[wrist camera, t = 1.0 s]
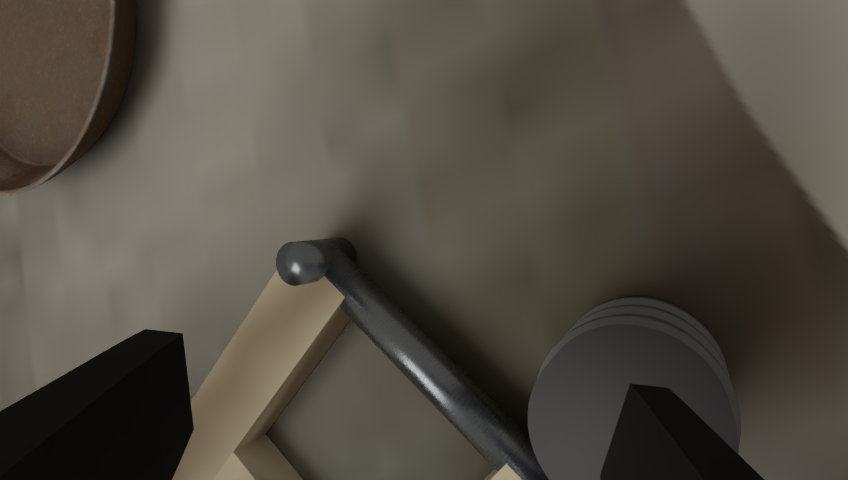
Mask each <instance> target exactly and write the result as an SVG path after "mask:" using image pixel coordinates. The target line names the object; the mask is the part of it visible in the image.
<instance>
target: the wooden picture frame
mask: <svg viewBox="0 0 848 480" xmlns="http://www.w3.org/2000/svg"><path fill="white" fill-rule="evenodd" d="M344 298H345V297H344V296H343V295H342V294H341V293H340V292H339V291H338V289H337V288H336V287H335V286H334V285H333V284H332V283H331V282H330V281H329V280H328V279H327V278H326V277H325V276H323V277H322V278H321V279H320V280H319V281H317V282H313V283H308V284H303V285H298V286H292V285H289V284H287V283H285V282H284V281H283V280H282V279H281V277H280V276H279V274H278V271H276V272H275V274H274V275H273V277H272V278H271V280H270V281H269V283H268V284H267V286H266V287H265V289H264V291H263V292H262V294H261V295H260V297H259V298H258V300H257V301H256V303H255V304H254V306H253V307H252V309H251V310H250V312H249V313H248V315H247V316H246V318H245V320H244V321H243V323H242V324H241V326H240V327H239V329H238V330H237V332H236V333H235V335H234V336H233V338H232V339H231V341H230V342H229V344H228V345H227V347H226V349H225V350H224V352H223V353H222V355H221V356H220V358H219V359H218V361H217V362H216V364H215V365H214V367H213V368H212V370H211V371H210V373H209V374H208V376H207V378H206V379H205V381H204V382H203V384H202V385H201V387H200V388H199V390H198V391H197V393H196V394H195V396H194V397H193V399H192V400H191V409H192V417H193V426H194V430H193V433H192V435H191V437H190V440H189V442H188V444H187V447H186V449H185V451H184V454H183V456H182V459H181V461H180V463H179V465H178V468H177V470H176V472H175V474H174V476H173V478H172V480H303V479H302V478H301V476H300V475H299V474H298V473H297V471H296V470H295V469H294V468H293V467H292V465H291V464H290V463H289V462H288V460H287V459H286V458H285V457H284V456H283V454H282V453H281V452H280V451H279V450H278V448H277V447H276V446H275V445H274V443H273V442H272V441H271V440H270V439H269V437H268V436H267V435H266V433H267V432H268V430H269V429H270V428H271V426H272V425H273V424H274V422H275V421H276V419H277V418H278V417H279V415H280V414H281V413H282V411H283V410H284V409H285V407H286V406H287V405H288V403H289V402H290V401H291V399H292V398H293V397H294V395H295V394H296V392H297V391H298V390H299V388H300V387H301V386H302V384H303V383H304V382H305V380H306V379H307V378H308V376H309V375H310V374H311V372H312V371H313V370H314V368H315V367H316V366H317V364H318V363H319V361H320V360H321V359H322V357H323V356H324V355H325V353H326V352H327V351H328V349H329V348H330V347H331V345H332V344H333V343H334V341H335V340H336V339H337V337H338V336H339V334H340V333H341V332H342V330H343V329H344V328H345V326H346V325H347V324H348V322H349V321H350V320H351V318H350V317H349V316H348V315H347V314H346V313H345V312H344V311H343V310H342V309H341V303H342V301H343V300H344ZM484 480H522V479H521V478H520V477H519V476H518V475H517V474H516V473H515V472H514V471H513V470H512V469H511V468H510V467H509V466H508V465H507V463H506V464H505V465H504V466H503V467H502V468H501V469H500V470H499V471H496V470H495V468H494V469H493V470H492V471H491V473H490V474H489V475H488V476H487V477H486V478H485V479H484Z"/></svg>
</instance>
